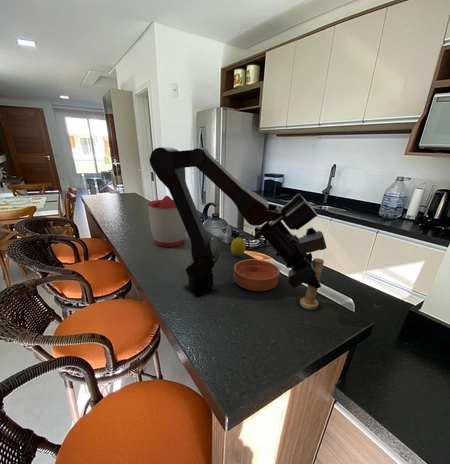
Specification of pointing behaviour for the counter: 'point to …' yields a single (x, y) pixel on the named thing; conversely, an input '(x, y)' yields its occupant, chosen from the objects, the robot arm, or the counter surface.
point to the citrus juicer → (166, 223)
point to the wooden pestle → (312, 288)
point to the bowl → (256, 275)
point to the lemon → (238, 246)
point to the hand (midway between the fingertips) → (318, 284)
